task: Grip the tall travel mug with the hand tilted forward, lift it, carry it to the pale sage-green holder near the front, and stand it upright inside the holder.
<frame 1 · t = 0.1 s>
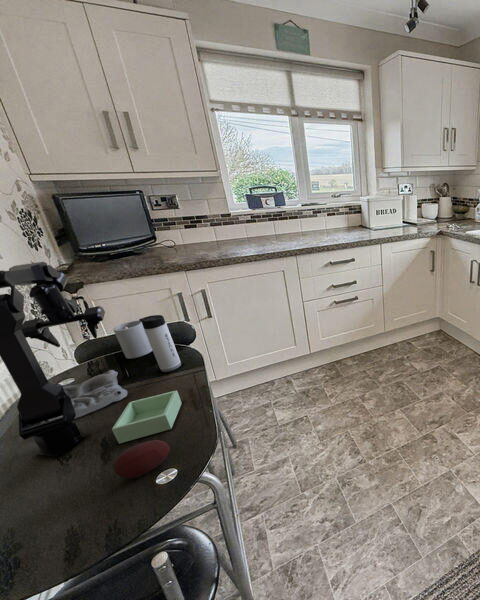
hand: (78, 341, 106), 15 cm above the table, tool pointing down, fingers open, 9 cm apart
travel mug: (171, 368, 116), on the table
holder: (152, 421, 89), on the table
cup: (140, 352, 130), on the table
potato: (148, 469, 74), on the table
wall plaque: (90, 397, 103), on the table
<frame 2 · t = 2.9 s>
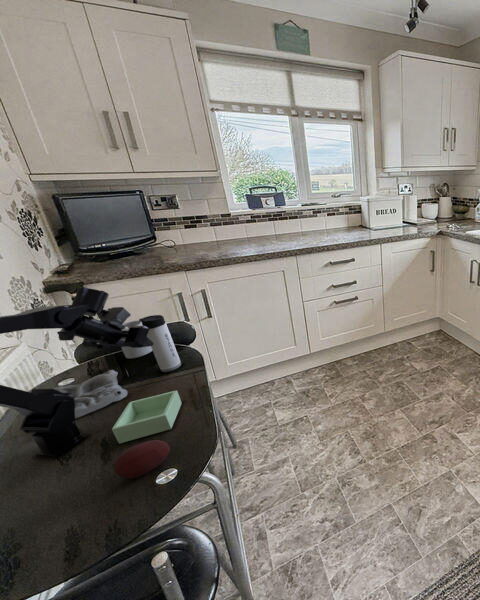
hand: (140, 344, 105), 13 cm above the table, tool tilted 45°, fingers open, 9 cm apart
nothing on the table moved.
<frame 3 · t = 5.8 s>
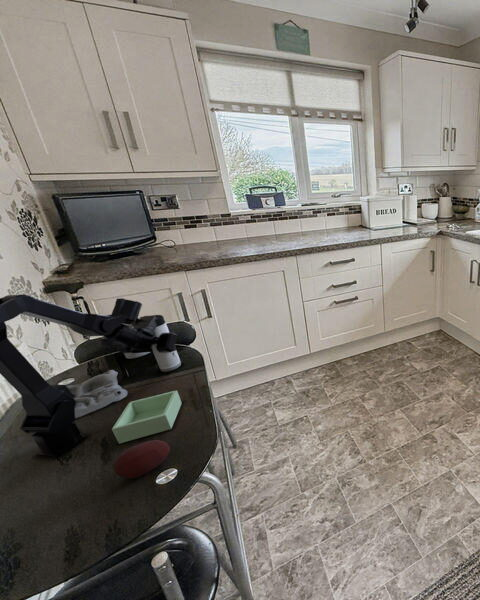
hand: (167, 349, 115), 7 cm above the table, tool tilted 45°, fingers closed on travel mug, 6 cm apart
travel mug: (170, 367, 116), on the table, touching gripper
everything else where it was.
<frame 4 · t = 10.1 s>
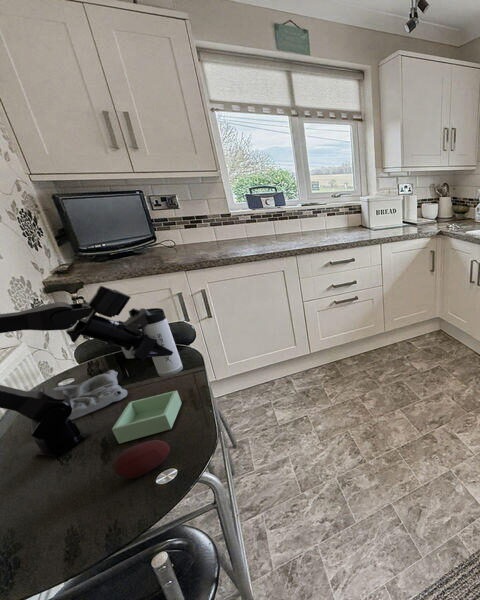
hand: (168, 350, 97), 14 cm above the table, tool tilted 45°, fingers closed on travel mug, 6 cm apart
travel mug: (170, 372, 99), point 7 cm above the table, touching gripper
everything else where it was.
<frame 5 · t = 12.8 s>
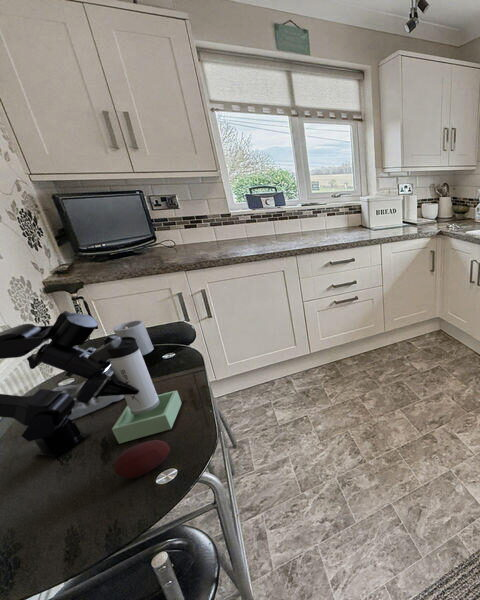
hand: (142, 385, 85), 11 cm above the table, tool tilted 45°, fingers closed on travel mug, 6 cm apart
travel mug: (145, 408, 87), point 5 cm above the table, touching gripper
everything else where it was.
when the fingers open (7 cm above the table, at t = 14.6 s): travel mug stays where it is, resting on holder.
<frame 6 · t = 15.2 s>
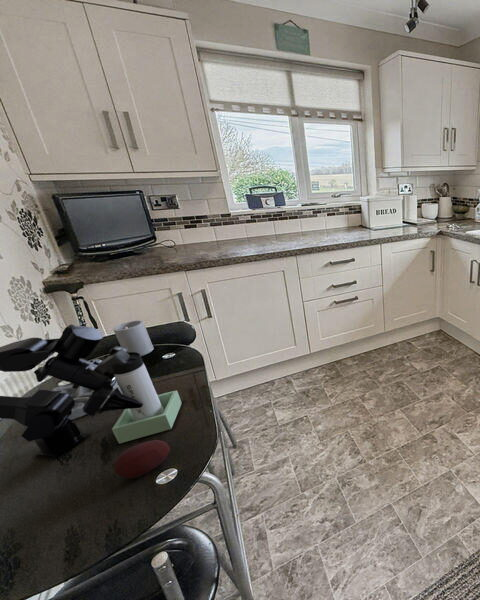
hand: (148, 395, 86), 8 cm above the table, tool tilted 45°, fingers open, 9 cm apart
travel mug: (151, 420, 89), resting on holder
everything else where it was.
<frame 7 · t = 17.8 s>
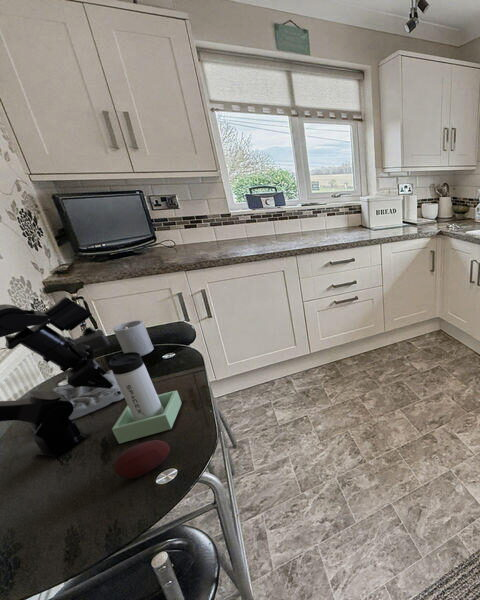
hand: (108, 380, 89), 12 cm above the table, tool tilted 25°, fingers open, 9 cm apart
nothing on the table moved.
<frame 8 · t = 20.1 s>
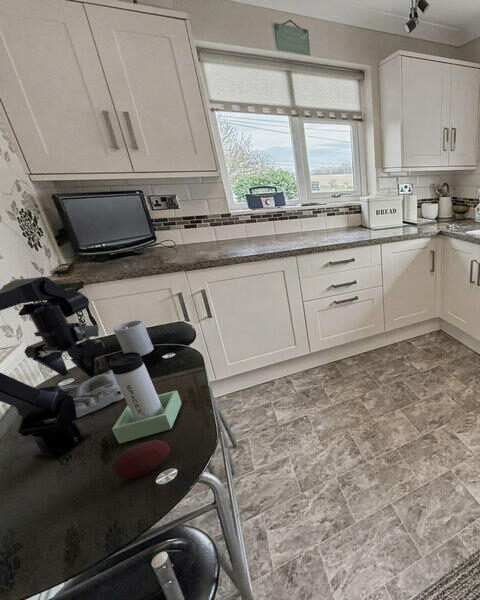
hand: (78, 375, 90), 13 cm above the table, tool pointing down, fingers open, 9 cm apart
nothing on the table moved.
at the end: travel mug 0.1 cm off-centre in the holder, point 0.4 cm above the holder's base; travel mug tilted 0°; the gripper is holding nothing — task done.
